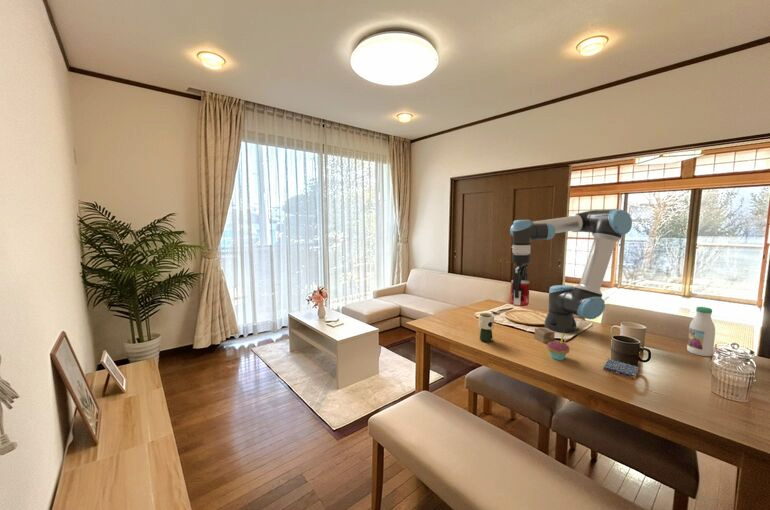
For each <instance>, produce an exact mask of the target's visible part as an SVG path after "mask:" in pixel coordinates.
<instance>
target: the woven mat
mask: <svg viewBox="0 0 770 510" xmlns="http://www.w3.org/2000/svg"><path fill="white" fill-rule="evenodd" d="M601 370H603V371H604V372H607V373H610V374H611V373H612V374H615V375H618V376H622V377H626V378H629V379H633V380H635V379H637V375H638V373H639V372H638V371H639V367H638V366H637V365H634V364H633V365H632V364H630V363H625V362H623V361H619V360H615V359H613V360H612V359H610V358H608V359H607V358H606V361H605V363H604V365H603V367H602V369H601Z"/></svg>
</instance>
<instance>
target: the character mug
mask: <svg viewBox="0 0 770 510" xmlns="http://www.w3.org/2000/svg"><path fill="white" fill-rule="evenodd" d="M494 321H495V315H494V314H492V313H490V312H480V313H479V314H478V328H479V329H480V333H479V340H481V341H483V342H492V341H494V339H493V332H492V331H493V329H494V327H495V326H494Z"/></svg>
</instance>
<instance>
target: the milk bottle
mask: <svg viewBox="0 0 770 510" xmlns="http://www.w3.org/2000/svg"><path fill="white" fill-rule="evenodd" d="M695 309H696V311H695V313H696V315H695V316H694V317H693V319H692V320H691V322H690V323H689V326H688V327H689V328H688V337H687V343H686V344H687V345H686V351H688V352H689V353H691V354H694V355H697V356H703V357H712V356H713V355H714V354H713V353H714V348H715V347H714V346H715V337H716V326H715V322H713V320H712V317H711V316H712V313H713V310H712V308H710V307H705V306H696V308H695Z"/></svg>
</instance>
